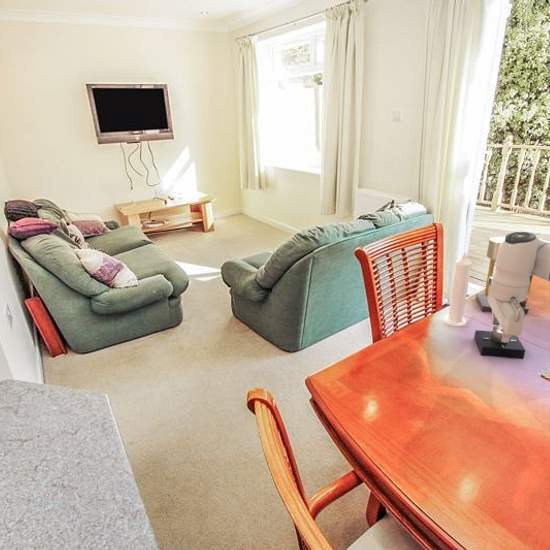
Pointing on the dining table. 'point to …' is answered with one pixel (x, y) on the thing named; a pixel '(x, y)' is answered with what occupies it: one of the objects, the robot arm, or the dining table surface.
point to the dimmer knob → (497, 334)
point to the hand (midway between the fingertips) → (499, 332)
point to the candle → (459, 293)
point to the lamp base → (486, 307)
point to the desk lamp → (492, 257)
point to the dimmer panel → (498, 346)
